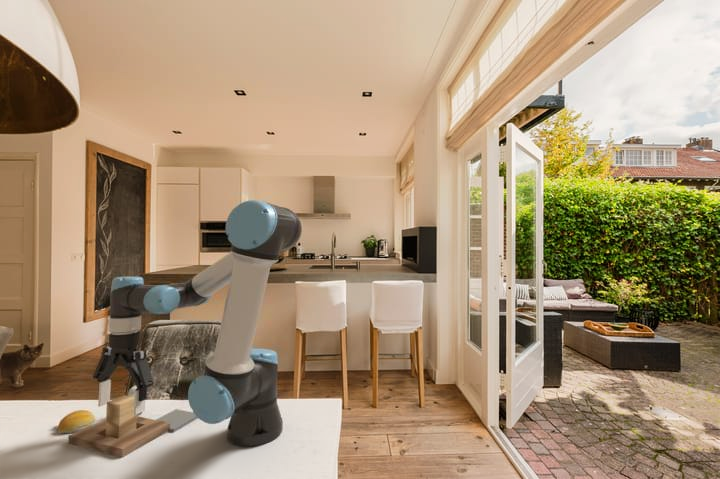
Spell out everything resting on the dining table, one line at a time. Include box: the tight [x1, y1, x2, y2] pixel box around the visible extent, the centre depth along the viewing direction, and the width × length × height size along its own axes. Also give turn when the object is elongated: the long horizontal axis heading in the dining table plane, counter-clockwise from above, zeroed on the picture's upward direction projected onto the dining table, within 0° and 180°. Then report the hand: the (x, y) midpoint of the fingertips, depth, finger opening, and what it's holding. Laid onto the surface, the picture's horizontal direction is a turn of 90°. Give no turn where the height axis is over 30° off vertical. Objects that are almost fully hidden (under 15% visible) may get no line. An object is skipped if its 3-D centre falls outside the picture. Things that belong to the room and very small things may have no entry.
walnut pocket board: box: [67, 415, 170, 458], centre depth 94 cm, size 20×14×2 cm
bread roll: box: [57, 409, 96, 434], centre depth 99 cm, size 8×9×4 cm
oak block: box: [105, 394, 137, 439], centre depth 94 cm, size 5×5×10 cm
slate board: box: [155, 408, 199, 433], centre depth 102 cm, size 10×10×1 cm
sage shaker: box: [127, 385, 143, 417], centre depth 107 cm, size 4×4×9 cm
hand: (121, 408), depth 94 cm, fingers open, 13 cm apart
